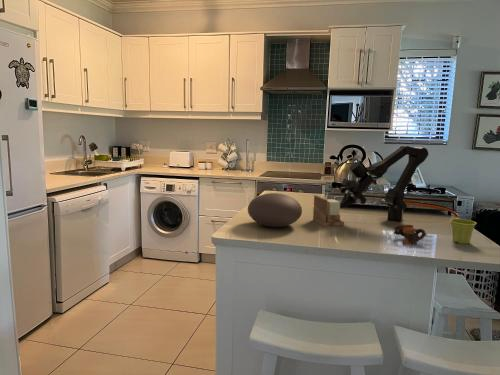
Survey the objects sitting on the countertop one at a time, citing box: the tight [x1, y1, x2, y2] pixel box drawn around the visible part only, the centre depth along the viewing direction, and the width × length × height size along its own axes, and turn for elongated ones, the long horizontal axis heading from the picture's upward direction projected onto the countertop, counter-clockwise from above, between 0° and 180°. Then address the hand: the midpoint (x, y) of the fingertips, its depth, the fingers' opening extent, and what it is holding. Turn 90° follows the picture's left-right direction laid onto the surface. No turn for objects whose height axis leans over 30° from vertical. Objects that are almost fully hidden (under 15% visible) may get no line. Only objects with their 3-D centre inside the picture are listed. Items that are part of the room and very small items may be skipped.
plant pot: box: [450, 218, 477, 245], centre depth 154 cm, size 9×9×9 cm
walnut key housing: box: [312, 194, 345, 227], centre depth 181 cm, size 11×12×12 cm
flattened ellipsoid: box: [247, 192, 303, 228], centre depth 173 cm, size 25×25×15 cm
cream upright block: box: [326, 198, 341, 219], centre depth 181 cm, size 5×7×9 cm
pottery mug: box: [393, 224, 427, 246], centre depth 153 cm, size 12×10×8 cm
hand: (340, 207), depth 182 cm, fingers closed
